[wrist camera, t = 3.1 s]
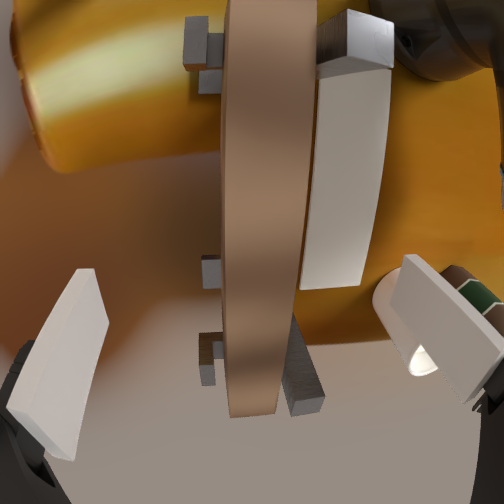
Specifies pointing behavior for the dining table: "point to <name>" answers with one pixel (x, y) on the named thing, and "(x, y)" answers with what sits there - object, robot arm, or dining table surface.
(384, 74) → the grey mat
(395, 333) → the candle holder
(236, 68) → the walnut bar
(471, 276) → the beer bottle
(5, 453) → the robot arm
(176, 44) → the dining table surface
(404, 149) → the dining table surface
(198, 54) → the hook rack
